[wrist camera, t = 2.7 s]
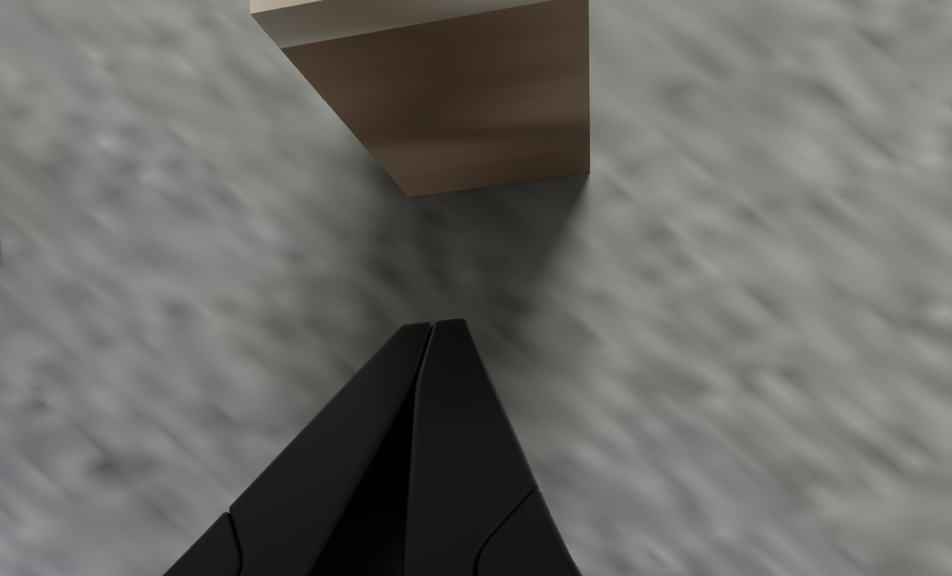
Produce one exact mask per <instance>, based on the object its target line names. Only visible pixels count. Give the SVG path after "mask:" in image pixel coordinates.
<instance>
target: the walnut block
mask: <svg viewBox="0 0 952 576" xmlns="http://www.w3.org/2000/svg"><path fill="white" fill-rule="evenodd" d="M250 14H251V15H252V17H253V18H254V19H255V20H256V21H257V22H258V24H259V25H260V26H261V27H262V28H263V29H264V31H265V32H266V33H267V34H268V35H269V36H270V37H271V39H272V40H273V41H274V42H275V43H276V44H277V46H278V47H279V48H280V49H281V50H282V51H283V53H284V54H285V55H286V56H287V57H288V58H289V60H290V61H291V62H292V63H293V64H294V65H295V66H296V68H297V69H298V70H299V71H300V72H301V73H302V75H303V76H304V77H305V78H306V79H307V80H308V82H309V83H310V84H311V85H312V86H313V87H314V88H315V90H316V91H317V92H318V93H319V94H320V95H321V97H322V98H323V99H324V100H325V101H326V102H327V104H328V105H329V106H330V107H331V108H332V109H333V110H334V112H335V113H336V114H337V115H338V116H339V117H340V119H341V120H342V121H343V122H344V123H345V124H346V126H347V127H348V128H349V129H350V130H351V131H352V133H353V134H354V135H355V136H356V137H357V138H358V139H359V141H360V142H361V143H362V144H363V145H364V146H365V148H366V149H367V150H368V151H369V152H370V153H371V155H372V156H373V157H374V158H375V159H376V160H377V161H378V163H379V164H380V165H381V166H382V167H383V168H384V170H385V171H386V172H387V173H388V174H389V175H390V177H391V178H392V179H393V180H394V181H395V182H396V184H397V185H398V186H399V187H400V188H401V189H402V190H403V192H404V193H405V194H406V195H407V196H408V197H416V196H424V195H431V194H438V193H445V192H453V191H460V190H467V189H474V188H481V187H489V186H496V185H503V184H510V183H518V182H525V181H532V180H539V179H547V178H554V177H561V176H568V175H575V174H583V173H590V115H589V1H588V0H250Z"/></svg>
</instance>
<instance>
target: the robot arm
mask: <svg viewBox="0 0 952 576" xmlns="http://www.w3.org/2000/svg"><path fill="white" fill-rule="evenodd" d="M229 512H230V513H228V512H225V513H223V514H222V515H221V516H220V517H219V518H218V519H217V520H216V521H215V522H214V524H213V525H212V526H211V527H210V528H209V529H208V530H207V531H206V532H205V533H204V534H203V535H202V536H201V537H200V538H199V539H198V540H197V541H196V542H195V543H194V544H193V545H192V546H191V547H190V548H189V549H188V550H187V551H186V552H185V553H184V554H183V555H182V556H181V557H180V558H179V559H178V560H177V562H176V563H175V564H174V565H173V566H172V567H171V568H170V569H169V570H168V571H167V572H166V573H165V574H164V575H163V576H582V575H581V573H580V571H579V569H578V568H577V566H576V564H575V562H574V561H573V559H572V557H571V555H570V554H569V551H568V549H567V547H566V545H565V543H564V541H563V539H562V537H561V535H560V533H559V531H558V529H557V527H556V525H555V523H554V521H553V519H552V516H551V514H550V512H549V509H548V507H547V505H546V502H545V500H544V498H543V495H542V493H541V492H540V491H539V487H538V485H537V482H536V480H535V478H534V475H533V473H532V471H531V469H530V466H529V464H528V462H527V459H526V457H525V455H524V452H523V450H522V448H521V445H520V443H519V441H518V439H517V436H516V434H515V432H514V429H513V427H512V425H511V422H510V420H509V418H508V416H507V413H506V411H505V409H504V406H503V404H502V402H501V399H500V397H499V395H498V392H497V390H496V388H495V386H494V383H493V381H492V379H491V376H490V374H489V372H488V369H487V367H486V365H485V362H484V360H483V358H482V356H481V353H480V351H479V349H478V346H477V344H476V342H475V339H474V337H473V335H472V333H471V330H470V328H469V326H468V323H467V321H466V320H465V319H461V318H460V319H451V320H442V321H437V322H436V323H434V325H433V324H432V323H430V322H424V323H415V324H406V325H403V326H401V327H400V328H399V329H398V330H397V331H396V332H395V333H394V334H393V335H392V336H391V337H390V338H389V339H388V340H387V341H386V342H385V343H384V344H383V345H382V346H381V348H380V349H379V350H378V351H377V352H376V353H375V354H374V355H373V356H372V357H371V358H370V359H369V360H368V361H367V362H366V363H365V364H364V365H363V367H362V368H361V369H360V370H359V371H358V372H357V373H356V374H355V375H354V376H353V377H352V378H351V379H350V380H349V381H348V382H347V383H346V384H345V386H344V387H343V388H342V389H341V390H340V391H339V392H338V393H337V394H336V395H335V396H334V397H333V398H332V399H331V400H330V401H329V402H328V403H327V405H326V406H325V407H324V408H323V409H322V410H321V411H320V412H319V413H318V414H317V415H316V416H315V417H314V418H313V419H312V420H311V421H310V422H309V424H308V425H307V426H306V427H305V428H304V429H303V430H302V431H301V432H300V433H299V434H298V435H297V436H296V437H295V438H294V439H293V440H292V441H291V443H290V444H289V445H288V446H287V447H286V448H285V449H284V450H283V451H282V452H281V453H280V454H279V455H278V456H277V457H276V458H275V459H274V460H273V462H272V463H271V464H270V465H269V466H268V467H267V468H266V469H265V470H264V471H263V472H262V473H261V474H260V475H259V476H258V477H257V478H256V480H255V481H254V482H253V483H252V484H251V485H250V486H249V487H248V488H247V489H246V490H245V491H244V492H243V493H242V494H241V495H240V496H239V497H238V499H237V500H236V501H235V502H234V503H233V504H232V505H231V506H230V508H229Z"/></svg>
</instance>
